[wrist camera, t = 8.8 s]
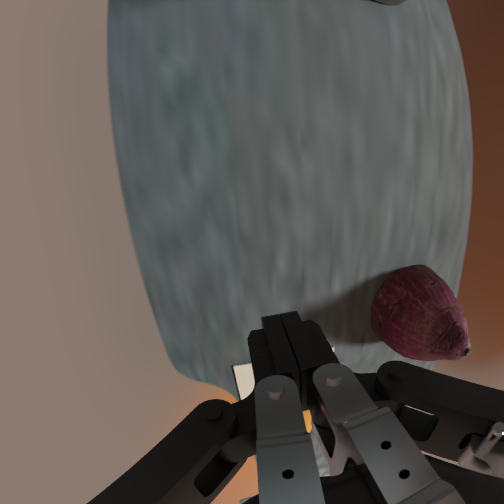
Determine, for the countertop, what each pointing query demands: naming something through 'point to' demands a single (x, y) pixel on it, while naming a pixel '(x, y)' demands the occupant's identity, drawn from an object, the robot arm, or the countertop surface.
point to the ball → (307, 420)
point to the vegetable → (420, 316)
